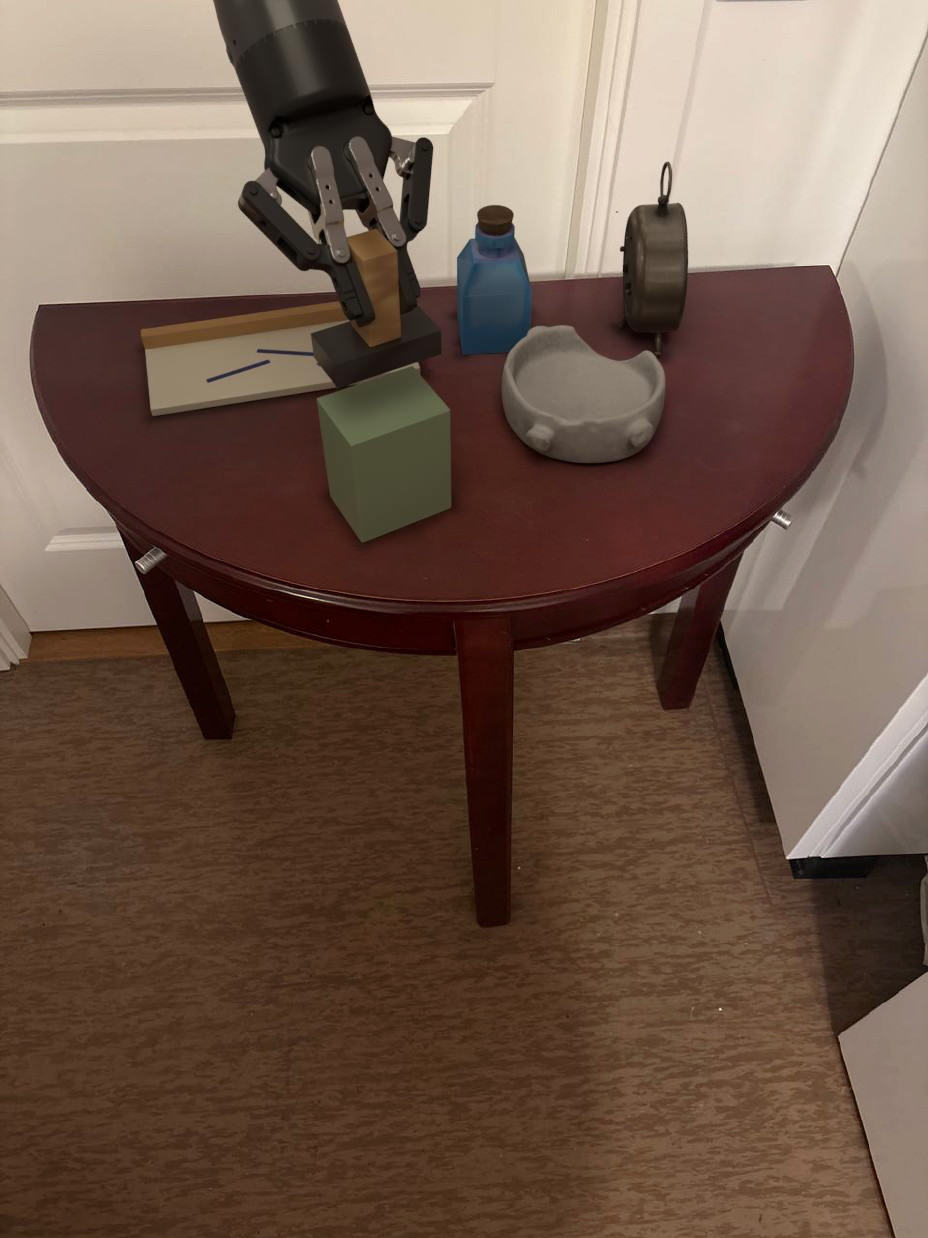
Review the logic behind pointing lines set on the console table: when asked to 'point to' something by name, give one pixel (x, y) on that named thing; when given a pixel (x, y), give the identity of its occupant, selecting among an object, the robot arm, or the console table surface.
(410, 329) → the eraser
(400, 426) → the block
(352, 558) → the console table surface
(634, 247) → the alarm clock
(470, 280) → the perfume bottle
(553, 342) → the dish
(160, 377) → the board
